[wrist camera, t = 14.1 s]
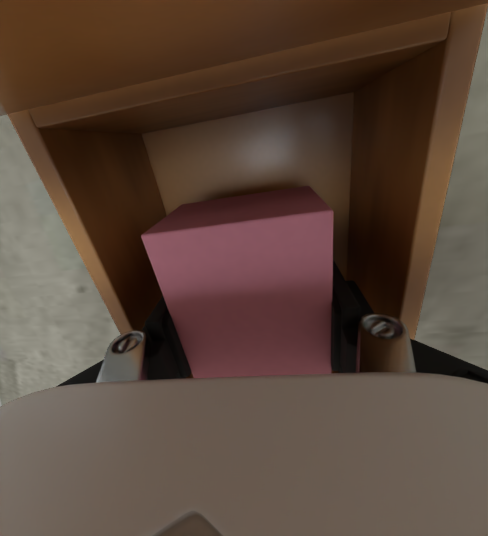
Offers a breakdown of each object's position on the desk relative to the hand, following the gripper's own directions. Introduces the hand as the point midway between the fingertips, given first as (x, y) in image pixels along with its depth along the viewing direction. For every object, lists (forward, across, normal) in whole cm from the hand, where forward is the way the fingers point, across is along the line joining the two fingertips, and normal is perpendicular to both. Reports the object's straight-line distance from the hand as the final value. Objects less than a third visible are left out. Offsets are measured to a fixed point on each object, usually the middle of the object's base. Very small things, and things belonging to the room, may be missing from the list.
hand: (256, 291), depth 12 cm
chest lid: (-10, 0, -7) cm, 13 cm away
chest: (+5, 0, -1) cm, 5 cm away
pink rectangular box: (+1, 0, 0) cm, 1 cm away
